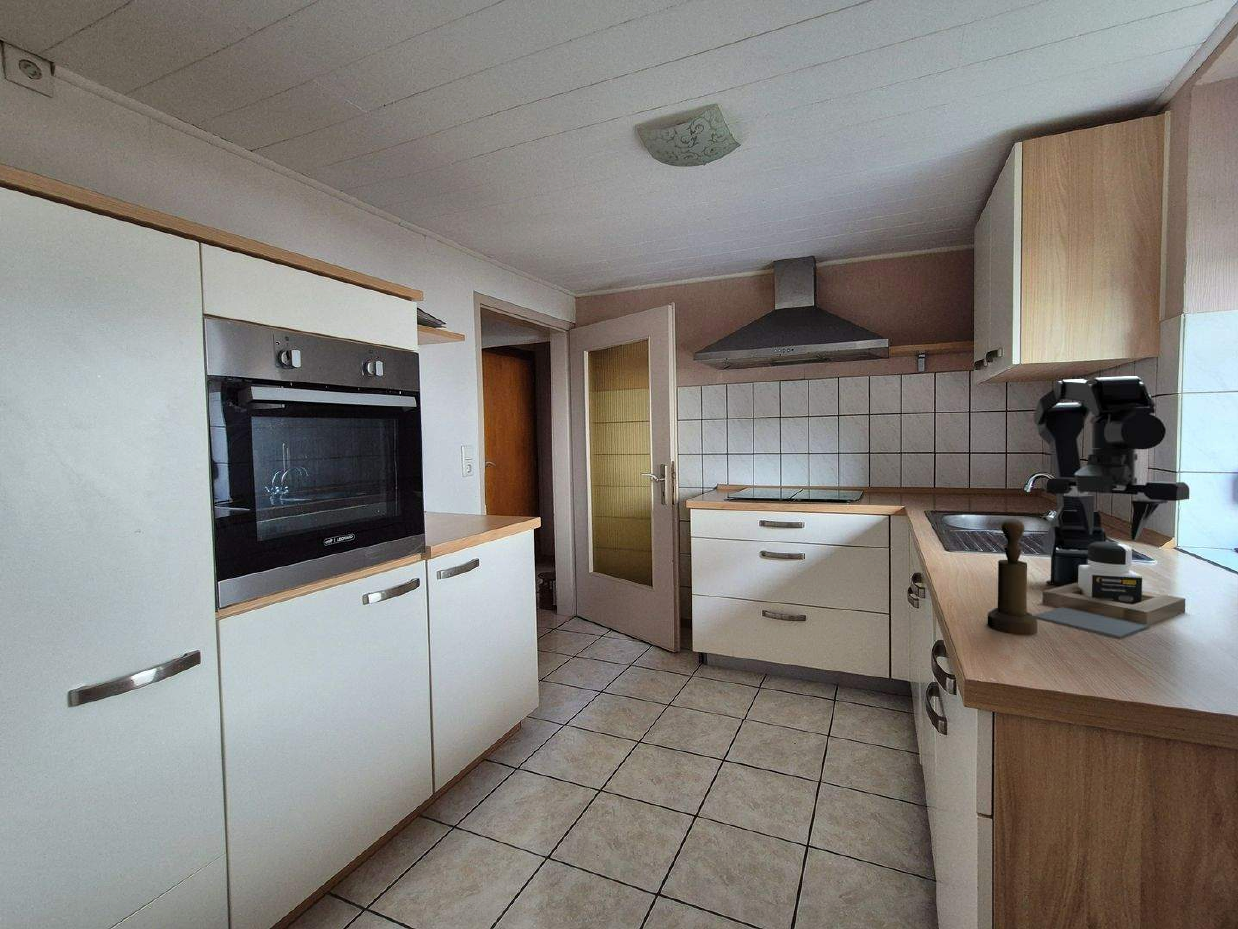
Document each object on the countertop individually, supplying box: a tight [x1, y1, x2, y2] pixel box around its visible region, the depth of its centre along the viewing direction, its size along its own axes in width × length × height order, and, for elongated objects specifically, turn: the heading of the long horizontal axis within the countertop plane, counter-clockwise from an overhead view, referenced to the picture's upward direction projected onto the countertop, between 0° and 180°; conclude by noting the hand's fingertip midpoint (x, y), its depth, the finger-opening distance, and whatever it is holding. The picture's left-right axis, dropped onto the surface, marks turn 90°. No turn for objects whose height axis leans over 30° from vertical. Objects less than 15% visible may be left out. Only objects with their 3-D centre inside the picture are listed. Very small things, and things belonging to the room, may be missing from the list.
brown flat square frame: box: [1042, 582, 1186, 627], centre depth 103 cm, size 15×15×2 cm
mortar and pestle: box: [986, 518, 1038, 636], centre depth 93 cm, size 7×6×18 cm
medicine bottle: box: [1078, 541, 1143, 605], centre depth 105 cm, size 7×7×12 cm
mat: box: [1032, 607, 1150, 640], centre depth 95 cm, size 12×10×1 cm
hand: (1111, 537), depth 102 cm, fingers open, 6 cm apart
